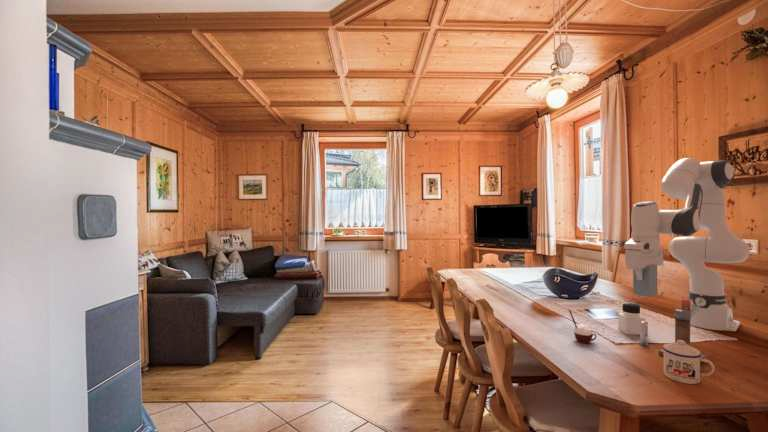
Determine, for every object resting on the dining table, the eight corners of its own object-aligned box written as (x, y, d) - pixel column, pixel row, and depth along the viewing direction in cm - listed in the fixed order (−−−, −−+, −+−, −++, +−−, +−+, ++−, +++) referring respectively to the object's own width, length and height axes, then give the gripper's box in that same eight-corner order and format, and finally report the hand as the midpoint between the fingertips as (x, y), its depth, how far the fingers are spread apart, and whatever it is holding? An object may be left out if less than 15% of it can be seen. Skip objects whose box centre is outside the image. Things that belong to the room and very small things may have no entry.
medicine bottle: (645, 335, 141) (645, 306, 141) (625, 334, 143) (625, 305, 142) (636, 329, 148) (636, 301, 148) (617, 328, 150) (617, 301, 149)
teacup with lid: (661, 378, 107) (661, 341, 107) (663, 367, 114) (663, 333, 113) (714, 392, 99) (715, 351, 98) (714, 379, 105) (714, 342, 105)
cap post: (642, 343, 133) (642, 320, 133) (649, 345, 131) (649, 322, 131) (638, 344, 132) (638, 321, 132) (645, 347, 130) (645, 323, 130)
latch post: (672, 349, 128) (672, 313, 127) (707, 359, 119) (707, 321, 119) (658, 354, 123) (658, 318, 123) (693, 366, 114) (693, 326, 114)
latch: (701, 311, 129) (701, 295, 128) (689, 322, 118) (689, 304, 117) (686, 308, 132) (686, 293, 132) (672, 318, 121) (672, 302, 121)
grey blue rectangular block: (641, 292, 137) (640, 262, 137) (657, 295, 132) (657, 264, 132) (633, 294, 135) (633, 264, 134) (649, 297, 130) (649, 266, 129)
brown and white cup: (597, 342, 136) (598, 312, 136) (593, 347, 131) (594, 316, 131) (570, 336, 142) (572, 307, 142) (566, 339, 138) (567, 310, 137)
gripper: (650, 241, 140) (650, 274, 141) (621, 244, 131) (621, 280, 131) (668, 242, 135) (668, 277, 135) (640, 246, 125) (640, 283, 126)
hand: (645, 278), depth 133 cm, fingers closed on grey blue rectangular block, 6 cm apart
